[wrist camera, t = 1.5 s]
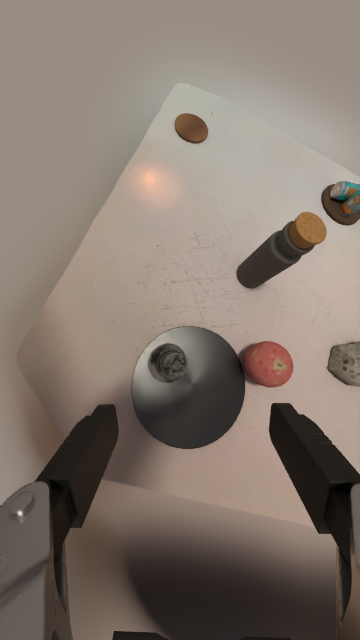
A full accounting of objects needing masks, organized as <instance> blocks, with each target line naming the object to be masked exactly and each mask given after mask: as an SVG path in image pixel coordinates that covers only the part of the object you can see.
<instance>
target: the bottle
mask: <svg viewBox="0 0 360 640" xmlns="http://www.w3.org/2000/svg"><path fill="white" fill-rule="evenodd" d="M325 237H326V227H325V225H324V223H323V221H322V220H321V219H320V218H319V217H318V216H317V215H315V214H313V213H310V212H304V213H301V214H300V215H299V216H298V217H297V218H296V219H295V221H291V222H289V223H288V224H287V225H286V226H285V227H284V228H283V229H282V230H280V231H277V232H275V233H274V234H273V235H271V236H270V237H269V238H268V239H267V240H266V241H265V242H264V243H263V244H262V245H261V246H260V247H259V248H257V249H256V250H255V251H254V252H253V253H252V254H251V255H250V256H249V257H248V258H247V259H246V260H245V261H244V262H243V263H242V264H241V265H240V266H239V267H238V270H237V277H238V279H239V281H240V283H241V284H242V285H244V286H245V287H248V288H255V287H257V286H259V285H261V284H262V283H264V282H266V281H267V280H269V279H270V278H272V277H274V276H275V275H277V274H279V273H280V272H282V271H284V270H285V269H287V268H288V267H290V266H292V265H293V264H295V263H296V262H298V261H299V260H300V258H301V256H302V255H304V254H306V253H308V252H310V251H311V250H312V249H313V248H314V246H315V245H316V244H319V243H321V242H322V241H323V240H324V239H325Z"/></svg>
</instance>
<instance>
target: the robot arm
mask: <svg viewBox="0 0 360 640" xmlns="http://www.w3.org/2000/svg"><path fill="white" fill-rule="evenodd" d="M118 433H119V429H118V421H117V415H116V408H115V405H114V404H103V405H98V406H97V407H96V409H95V410H94V412H93V413H92V415H91V416H86V417H85V418H83V419H82V420H81V421H80V422H78V423H77V424H76V426H75V427H74V428H73V430H72V431H71V432H70V435H69V436H68V437H67V438H66V439H65V441H64V443H63V444H62V445H61V446H60V448H59V449H58V450H57V452H56V453H55V455H54V456H53V457H52V459H51V460H50V461H49V463H48V464H47V465H46V467H45V468H44V470H43V471H42V472H41V474H40V475H39V477H38V478H37V479H36V480H35V482H33V483H30V484H28V485H25V486H24V487H22V488H20V489H19V490H17V491H16V492H15V493H13V494H12V495H11V496H10V497H9V498H8V499H7V500H6V501H5V502H4V503H3V504H2V505H1V506H0V640H73V637H72V631H71V624H70V614H69V599H68V585H67V570H66V556H65V543H64V540H65V538H66V536H67V534H68V532H69V529H70V528H81V527H82V525H83V523H84V520H85V518H86V515H87V513H88V510H89V508H90V506H91V503H92V501H93V498H94V496H95V493H96V491H97V489H98V486H99V484H100V481H101V479H102V477H103V474H104V472H105V469H106V467H107V464H108V462H109V460H110V457H111V455H112V452H113V450H114V447H115V445H116V442H117V439H118ZM269 433H270V438H271V441H272V443H273V445H274V447H275V449H276V451H277V453H278V455H279V457H280V459H281V461H282V463H283V465H284V467H285V469H286V471H287V473H288V475H289V477H290V479H291V481H292V483H293V485H294V486H295V488H296V490H297V492H298V494H299V496H300V498H301V500H302V502H303V504H304V506H305V508H306V510H307V512H308V514H309V516H310V518H311V520H312V522H313V524H314V526H315V528H316V530H317V531H318V533H319V534H332V536H333V538H334V540H335V542H336V543H337V547H336V622H337V623H336V640H360V474H359V473H358V472H357V471H356V470H355V468H354V467H353V466H352V465H351V464H350V463H349V461H348V460H347V459H346V458H345V457H344V456H343V455H342V453H341V452H340V451H339V450H338V449H337V448H336V446H335V445H333V444H332V442H331V441H330V440H329V438H328V437H327V436H325V435H324V433H323V431H322V430H321V429H320V428H319V427H318V426H317V424H316V423H314V422H313V421H312V420H310V419H309V418H308V417H306V416H305V415H299V414H298V413H297V411H296V410H295V409H294V408H293V406H292V405H291V404H290V403H273V404H272V406H271V414H270V424H269ZM112 640H168V639H166V638H164V637H162V636H161V635H159V634H157V633H148V632H122V631H114V634H113V639H112ZM240 640H291V639H290V638H271V637H244V638H242V639H240Z"/></svg>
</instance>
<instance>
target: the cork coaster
mask: <svg viewBox="0 0 360 640" xmlns="http://www.w3.org/2000/svg"><path fill="white" fill-rule="evenodd" d="M175 130H176V132H177V133H178V135H179V136H180V137H181V138H183V139H184V140H186V141H188V142H191V143H200V142H203V141H204V140H205V139H206V137H207V135H208V128H207V126H206V124H205V122H204V121H203V120H202V119H201V118H199V117H198V116H196V115H193V114H188V113H185V114H181V115H179V116H178V117H177V118H176V120H175Z"/></svg>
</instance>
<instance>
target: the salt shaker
mask: <svg viewBox="0 0 360 640" xmlns="http://www.w3.org/2000/svg"><path fill="white" fill-rule="evenodd" d="M149 369H150V372H151V373H152V375H153V377H155V378H156V379H157V380H159V381H161V382H164V383H172V382H174V381H177V380H178V379H180V378H181V377H182V376H183V374H184V373H185V371H186V369H187V358H186V355H185V353H184V351H183V350H182V349H181V348H180V347H179V346H177V345H175V344H171V343H167V344H162V345H160V346H158V347H157V348H155V349H154V351H153V352H152V353H151V355H150V358H149Z"/></svg>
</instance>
